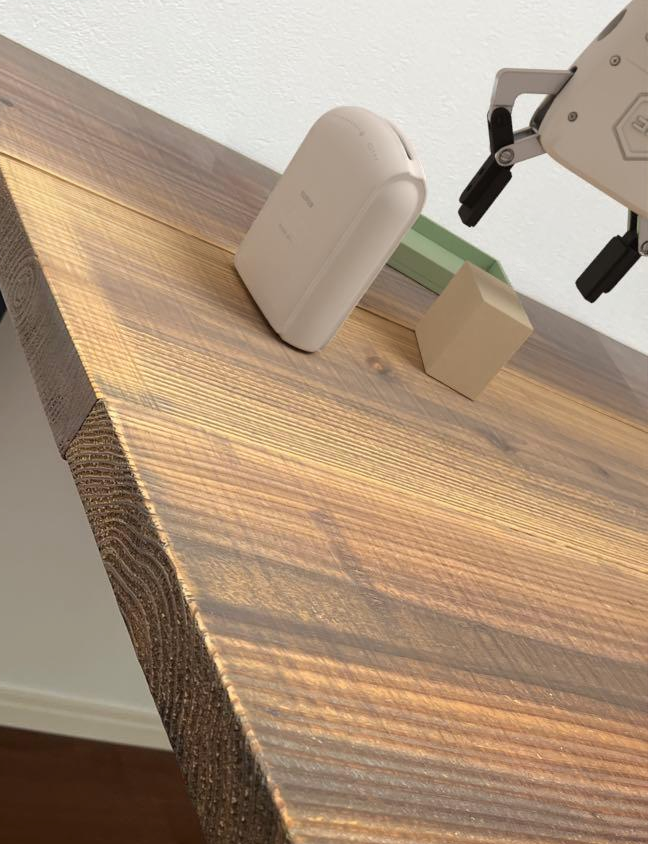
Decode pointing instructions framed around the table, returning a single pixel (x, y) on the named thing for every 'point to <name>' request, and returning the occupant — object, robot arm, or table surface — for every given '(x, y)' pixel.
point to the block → (471, 331)
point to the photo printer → (331, 224)
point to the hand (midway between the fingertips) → (524, 257)
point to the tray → (439, 256)
